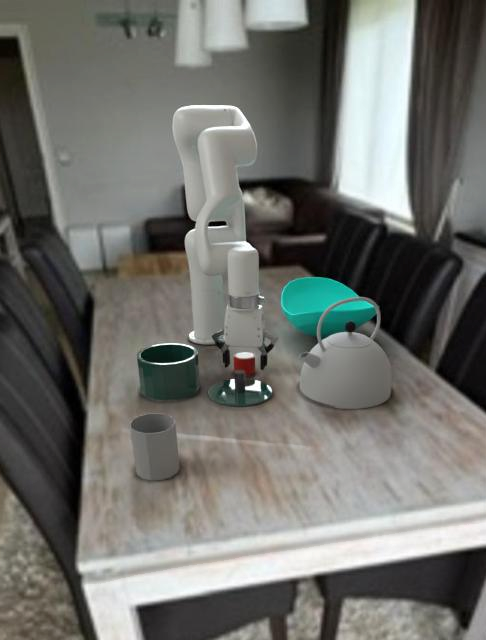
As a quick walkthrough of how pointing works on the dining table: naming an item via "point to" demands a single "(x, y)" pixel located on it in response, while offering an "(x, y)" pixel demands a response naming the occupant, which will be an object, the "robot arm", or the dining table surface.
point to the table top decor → (322, 306)
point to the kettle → (347, 367)
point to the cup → (155, 446)
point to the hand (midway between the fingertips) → (245, 367)
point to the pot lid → (240, 391)
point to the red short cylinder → (245, 362)
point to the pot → (168, 371)
